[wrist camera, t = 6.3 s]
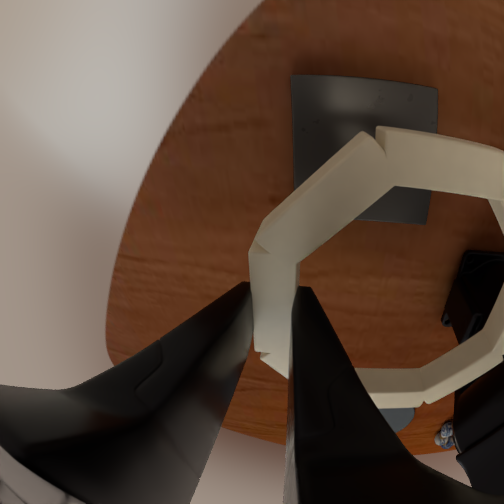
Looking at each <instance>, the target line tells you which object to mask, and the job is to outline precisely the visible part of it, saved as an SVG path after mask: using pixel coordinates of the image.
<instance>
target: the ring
mask: <svg viewBox="0 0 504 504" xmlns="http://www.w3.org/2000/svg"><path fill="white" fill-rule="evenodd" d="M394 186H402V187H411V188H419V189H427V190H435V191H442V192H449V193H456V194H462V195H469V196H475V197H481V198H486V199H488V201H489V203H490V205H491V207H492V209H493V211H494V214H495V216H496V218H497V220H498V223H499V225H500V227H501V230H502V232H503V235H504V151H502V150H500V149H497V148H495V147H492V146H488V145H484V144H480V143H476V142H472V141H468V140H463V139H459V138H454V137H449V136H444V135H439V134H434V133H428V132H422V131H416V130H409V129H402V128H395V127H387V126H377V127H376V136H375V139H374V138H373V137H372V136H370V135H369V134H367V133H366V132H364V131H361V132H359V133H358V134H357V135H356V136H355V137H354V138H353V139H351V140H350V141H349V142H348V143H347V144H346V145H345V146H344V147H343V148H341V149H340V150H339V151H338V152H337V153H336V154H335V155H334V156H332V157H331V158H330V159H329V160H328V161H327V162H326V163H325V164H324V165H322V166H321V167H320V168H319V169H318V170H317V171H316V172H315V173H314V174H313V175H311V176H310V177H309V178H308V179H307V180H306V181H305V182H304V183H303V184H302V185H300V186H299V187H298V188H297V189H296V190H295V191H294V192H293V193H292V194H291V195H289V196H288V197H287V198H286V199H285V200H284V201H283V202H282V203H281V204H280V205H279V206H277V207H276V208H275V209H274V210H273V211H272V212H271V213H270V214H269V215H268V216H267V217H265V218H264V219H263V222H262V224H261V226H260V228H259V230H258V232H257V234H256V236H255V239H254V241H253V243H252V245H251V247H250V250H249V252H248V255H249V271H250V287H251V292H252V304H253V320H254V330H253V333H254V349H255V351H257V352H261V356H260V359H261V360H262V361H264V362H265V363H267V364H268V365H269V366H271V367H272V368H273V369H275V370H276V371H278V372H279V373H280V374H282V375H283V376H285V377H286V378H287V379H288V366H289V348H290V329H291V311H292V305H293V301H294V296H295V294H296V291H297V287H298V286H299V274H300V261H302V260H303V259H304V258H306V257H307V256H308V255H309V254H311V253H312V252H313V251H315V250H316V249H317V248H318V247H320V246H321V245H322V244H324V243H325V242H326V241H327V240H329V239H330V238H331V237H332V236H334V235H335V234H336V233H337V232H339V231H340V230H341V229H342V228H344V227H345V226H346V225H347V224H349V223H350V222H351V221H352V220H354V219H355V218H356V217H357V216H359V215H360V214H361V213H362V212H363V211H365V210H366V209H367V208H368V207H370V206H371V205H372V204H373V203H374V202H376V201H377V200H378V199H379V198H380V197H382V196H383V195H384V194H385V193H386V192H388V191H389V190H390V189H391V188H392V187H394ZM503 355H504V283H503V286H502V288H501V291H500V293H499V296H498V298H497V300H496V302H495V305H494V307H493V309H492V311H491V313H490V315H489V318H488V320H487V322H486V324H485V326H484V328H483V329H482V330H481V331H479V332H478V333H477V334H475V335H474V336H472V337H471V338H469V339H468V340H466V341H465V342H463V343H462V344H460V345H459V346H457V347H455V348H454V349H452V350H451V351H449V352H447V353H446V354H444V355H442V356H441V357H439V358H437V359H436V360H434V361H432V362H430V363H429V364H427V365H425V366H423V367H421V368H415V369H373V368H354V369H355V371H356V372H357V374H358V376H359V378H360V380H361V382H362V384H363V385H364V387H365V389H366V391H367V392H368V394H369V395H370V397H371V398H372V400H373V402H374V403H375V405H376V406H377V408H378V409H382V408H412V407H420V406H421V404H422V403H423V401H425V402H426V403H427V404H430V403H432V402H434V401H436V400H438V399H440V398H442V397H444V396H446V395H448V394H450V393H452V392H453V391H455V390H457V389H459V388H461V387H462V386H464V385H466V384H468V383H469V382H471V381H473V380H474V379H476V378H478V377H479V376H481V375H482V374H484V373H486V372H487V371H489V370H490V369H492V368H493V367H495V366H496V365H498V364H499V363H501V362H502V361H503Z"/></svg>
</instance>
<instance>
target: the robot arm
mask: <svg viewBox="0 0 504 504" xmlns="http://www.w3.org/2000/svg"><path fill="white" fill-rule="evenodd" d="M470 256H471V258H470V259H468V257H470ZM503 283H504V253H503V252H492V251H479V250H467V251H466V252H465V253H464V254H463V257H462V260H461V264H460V267H459V270H458V273H457V276H456V279H455V280H454V282H453V285H452V288H451V291H450V294H449V297H448V299H447V302H446V305H445V310H444V313H443V315H442V318H441V322H442V325H443V326H445V327H450V326H452V327H453V330H454V332H455V335H456V338H457V340H458V343H459V345H460V344H462V343H463V342H465V341H466V340H468V339H469V338H471V337H472V336H474V335H475V334H477V333H478V332H479V331H481V330H482V329H483V328H484V326H485V324H486V322H487V320H488V318H489V315H490V313H491V311H492V309H493V307H494V305H495V302H496V300H497V298H498V296H499V293H500V291H501V288H502V286H503ZM446 320H447V321H446ZM253 330H254V320H253V304H252V292H251V287H250V282H245V281H243V282H241V283H239V284H238V285H236V286H235V287H234V288H232V289H231V290H229V291H228V292H226V293H225V294H224V295H222V296H221V297H219V298H218V299H216V300H215V301H214V302H212V303H211V304H209V305H208V306H206V307H205V308H203V309H202V310H201V311H199V312H198V313H196V314H195V315H193V316H192V317H190V318H189V319H188V320H186V321H185V322H183V323H182V324H180V325H179V326H177V327H176V328H174V329H173V330H172V331H170V332H169V333H167V334H166V335H164V336H163V337H161V338H160V340H157V341H155V342H154V343H152V344H151V345H149V346H148V347H146V348H145V349H143V350H142V351H140V352H138V353H137V354H135V355H134V356H132V357H130V358H128V359H127V360H125V361H123V362H121V363H120V364H118V365H116V366H114V367H112V368H110V369H108V370H107V371H105V372H103V373H101V374H99V375H97V376H95V377H93V378H91V379H89V380H87V381H86V382H83V383H82V384H79V385H77V386H75V387H71V388H68V389H61V390H50V389H35V388H25V387H15V386H7V385H0V504H190V501H191V499H192V497H193V494H194V492H195V489H196V487H197V485H198V482H199V480H200V479H199V478H200V477H201V475H202V473H203V470H204V468H205V465H206V462H207V460H208V458H209V455H210V453H211V450H212V448H213V445H214V443H215V440H216V438H217V435H218V433H219V430H220V428H221V425H222V423H223V420H224V417H225V415H226V412H227V410H228V407H229V404H230V402H231V399H232V397H233V394H234V391H235V389H236V386H237V383H238V381H239V378H240V375H241V373H242V370H243V367H244V365H245V362H246V359H247V356H248V352H249V348H250V343H251V339H252V334H253ZM452 435H453V441H454V444H455V447H456V449H457V451H458V453H459V454H458V455H457V456H456V460H457V462H458V463H459V464H460V465H461V466H462V468H463V469H464V470H465V472H466V474H467V476H468V478H469V480H470V483H471V486H472V487H469V486H467V485H465V484H463V483H461V482H459V481H457V480H454V479H453V478H450V477H448V476H446V475H444V474H442V473H440V472H438V471H436V470H434V469H432V468H431V467H428V466H427V465H425V464H423V463H421V462H420V461H419V460H417V459H416V458H415V457H414V456H413V455H412V454H411V453H410V452H409V451H408V450H407V449H406V448H405V446H404V445H403V444H402V442H401V441H400V439H399V438H398V436H397V435H396V433H395V432H394V431H393V429H392V428H391V426H390V425H389V423H388V422H387V421H386V419H385V418H384V416H383V415H382V413H381V412H380V410H379V409H378V408H377V406H376V405H375V403H374V402H373V400H372V398H371V397H370V395H369V394H368V392H367V391H366V389H365V387H364V385H363V384H362V382H361V380H360V378H359V376H358V374H357V372H356V371H355V369H354V367H353V366H352V363H351V361H350V359H349V357H348V355H347V353H346V351H345V350H344V348H343V346H342V344H341V342H340V340H339V338H338V336H337V334H336V332H335V331H334V329H333V327H332V325H331V323H330V321H329V319H328V317H327V316H326V314H325V312H324V310H323V308H322V306H321V305H320V303H319V301H318V299H317V297H316V295H315V294H314V292H313V290H312V288H311V287H305V286H298V287H297V291H296V294H295V296H294V301H293V305H292V311H291V329H290V348H289V366H288V411H287V439H286V461H285V481H284V496H283V504H504V355H503V361H502V362H501V363H499V364H498V365H496V366H495V367H493V368H492V369H490V370H489V371H487V372H486V373H484V374H482V375H481V376H479V377H478V378H476V379H474V380H473V381H471V382H469V383H468V384H466V385H464V386H462V387H461V388H459V389H457V390H455V400H454V417H453V423H452Z"/></svg>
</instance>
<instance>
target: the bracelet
mask: <svg viewBox="0 0 504 504" xmlns="http://www.w3.org/2000/svg"><path fill="white" fill-rule="evenodd" d="M452 423H453V422H447V423H445V424H444V425H443V426H442V429H441V432H439V433H438V434H437V435H436V437H435V443H436V444H437V445H441V447H442V448H444V449H448V448H450V447H451V446H452V445H455V444H454V441H453V437H452V436H451V435H452Z"/></svg>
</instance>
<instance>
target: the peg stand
mask: <svg viewBox="0 0 504 504" xmlns="http://www.w3.org/2000/svg"><path fill="white" fill-rule="evenodd" d="M290 79H291V100H292V126H293V164H294V191H295V190H296V189H297V188H298V187H299V186H300V185H302V184H303V183H304V182H305V181H306V180H307V179H308V178H309V177H310V176H311V175H313V174H314V173H315V172H316V171H317V170H318V169H319V168H320V167H321V166H322V165H324V164H325V163H326V162H327V161H328V160H329V159H330V158H331V157H332V156H334V155H335V154H336V153H337V152H338V151H339V150H340V149H341V148H343V147H344V146H345V145H346V144H347V143H348V142H349V141H350V140H351V139H353V138H354V137H355V136H356V135H357V134H358V133H359V132H361V131H364V132H366V133H367V134H369V135H370V136H372V137H373V138H374V139H375V136H376V127H377V126H387V127H395V128H402V129H409V130H416V131H422V132H428V133H434V134H437V119H438V89H436V88H432V87H427V86H422V85H417V84H411V83H405V82H398V81H391V80H383V79H374V78H364V77H352V76H336V75H291V76H290ZM430 197H431V190H427V189H419V188H411V187H402V186H394V187H392V188H391V189H390V190H389V191H388V192H386V193H385V194H384V195H383V196H382V197H380V198H379V199H378V200H377V201H376V202H374V203H373V204H372V205H371V206H370V207H368V208H367V209H366V210H365V211H363V212H362V213H361V214H360V215H359V216H357V217H356V218H355V219H354V220H367V221H381V222H395V223H407V224H419V225H426V221H427V215H428V209H429V203H430Z"/></svg>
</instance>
